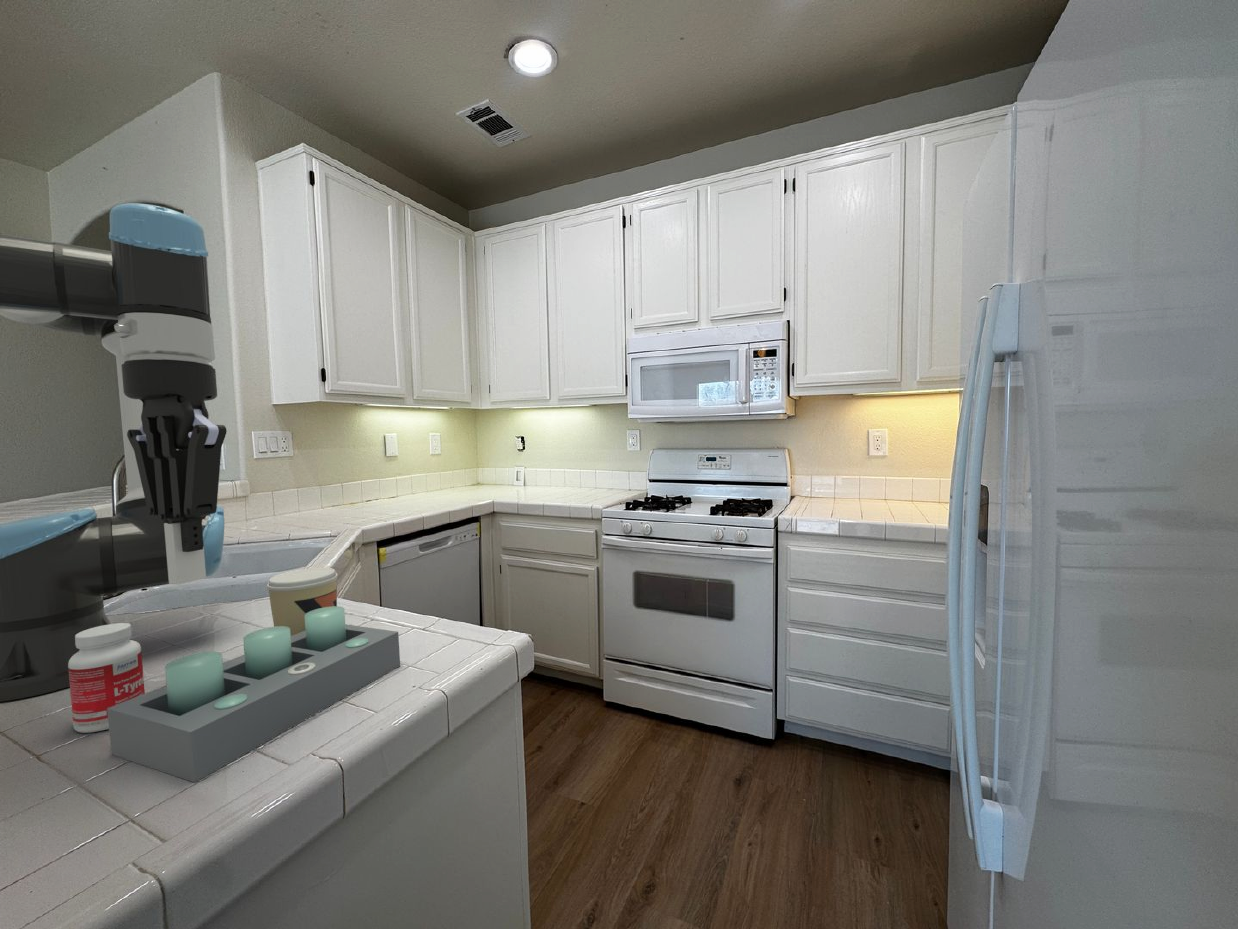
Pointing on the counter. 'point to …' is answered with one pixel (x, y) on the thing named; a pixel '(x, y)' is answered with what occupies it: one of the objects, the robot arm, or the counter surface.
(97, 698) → the pill bottle
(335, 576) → the coffee cup
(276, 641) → the button
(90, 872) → the counter surface
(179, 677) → the button
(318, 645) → the button
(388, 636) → the board
